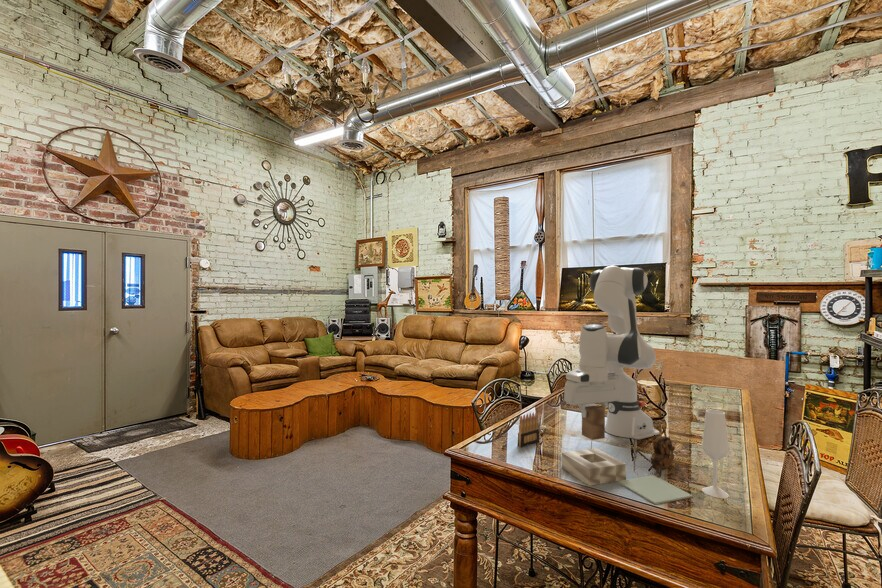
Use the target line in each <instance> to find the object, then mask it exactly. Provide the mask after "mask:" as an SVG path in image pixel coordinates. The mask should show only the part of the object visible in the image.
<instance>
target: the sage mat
mask: <svg viewBox="0 0 882 588" xmlns="http://www.w3.org/2000/svg"><path fill="white" fill-rule="evenodd" d="M617 483H618V484H619V485H621V486H622V487H625V488H627V489H628V490H629V491H631V492H633V493H634V494H637V495H638V496H640V497H642V498H643V499H645V501H648V502H650V503H652V504H653V505H658V504H659V505H660V504H663V503H670V502H674V501H681V500H685V499H690V498H693V494H691V493H689V492H687V491H685V490H683V489H681V488H679V487H677V486H675V485H673V484H671V483H669V482H667V481H665V480H663V479H662V478H660V477H658V476H656V475H654V474H653V475H648V476H647V475H646V476H641V477H634V478H628V479H626V480H621V481H617Z"/></svg>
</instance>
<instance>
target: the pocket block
mask: <svg viewBox="0 0 882 588" xmlns="http://www.w3.org/2000/svg"><path fill="white" fill-rule="evenodd" d="M561 469H563V470H565V471H566V472H568V473H569V474H571V475H573V476H574V477H575V478H577V479H579V480H580V481H581V482H583V483H585V485H588V487H591V486H594V485H595V486H596V485H601V484H602V485H603V484H607V483H613V482H618V481H622V480H627V463H625V462H624V461H621V460H620V459H617V458H616V457H613V456H612V455H609V454H608V453H606V452H604V451H602V450H600V449H599V448H597V447H595V448H587V449H579V450H573V451H566V452H561Z"/></svg>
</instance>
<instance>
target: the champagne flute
mask: <svg viewBox="0 0 882 588" xmlns="http://www.w3.org/2000/svg"><path fill="white" fill-rule="evenodd" d="M704 416H705V417H704V424H703V425H704V426H703V433H702V434H703V435H702V440H701V441H702V443H701V448H702V450H703V452H704V453H705V454H706V456H708V457H709V458H710V459H711V460H712V485H710V486H705V487H703V488H701V491H702V492H703V493H704V494H706V496H707V495H708V496H710V497H713V498H717V499H727V498H729V497H730V495H729V493H727V492H726V491H725V490H723V489H722V488H720V487H719V486H718V481H719V480H718V474H719V473H718V470H719V468H718V461H721V460H722V459H724V458H725V457H727V455H728V454H729V453H730V449H729V448H730V447H729V438H728V428H727V420H726V412H725V411H722V410H718V409H706V410H705V415H704Z"/></svg>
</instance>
